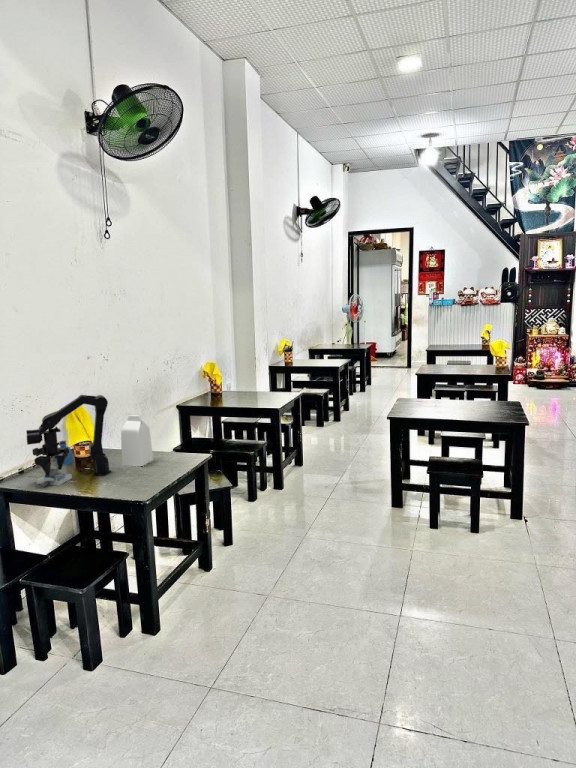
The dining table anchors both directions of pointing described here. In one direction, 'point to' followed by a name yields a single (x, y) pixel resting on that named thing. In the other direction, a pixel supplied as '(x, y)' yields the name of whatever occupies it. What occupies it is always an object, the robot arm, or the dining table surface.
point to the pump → (53, 471)
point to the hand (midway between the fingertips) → (54, 472)
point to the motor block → (54, 479)
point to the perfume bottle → (69, 457)
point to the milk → (136, 442)
